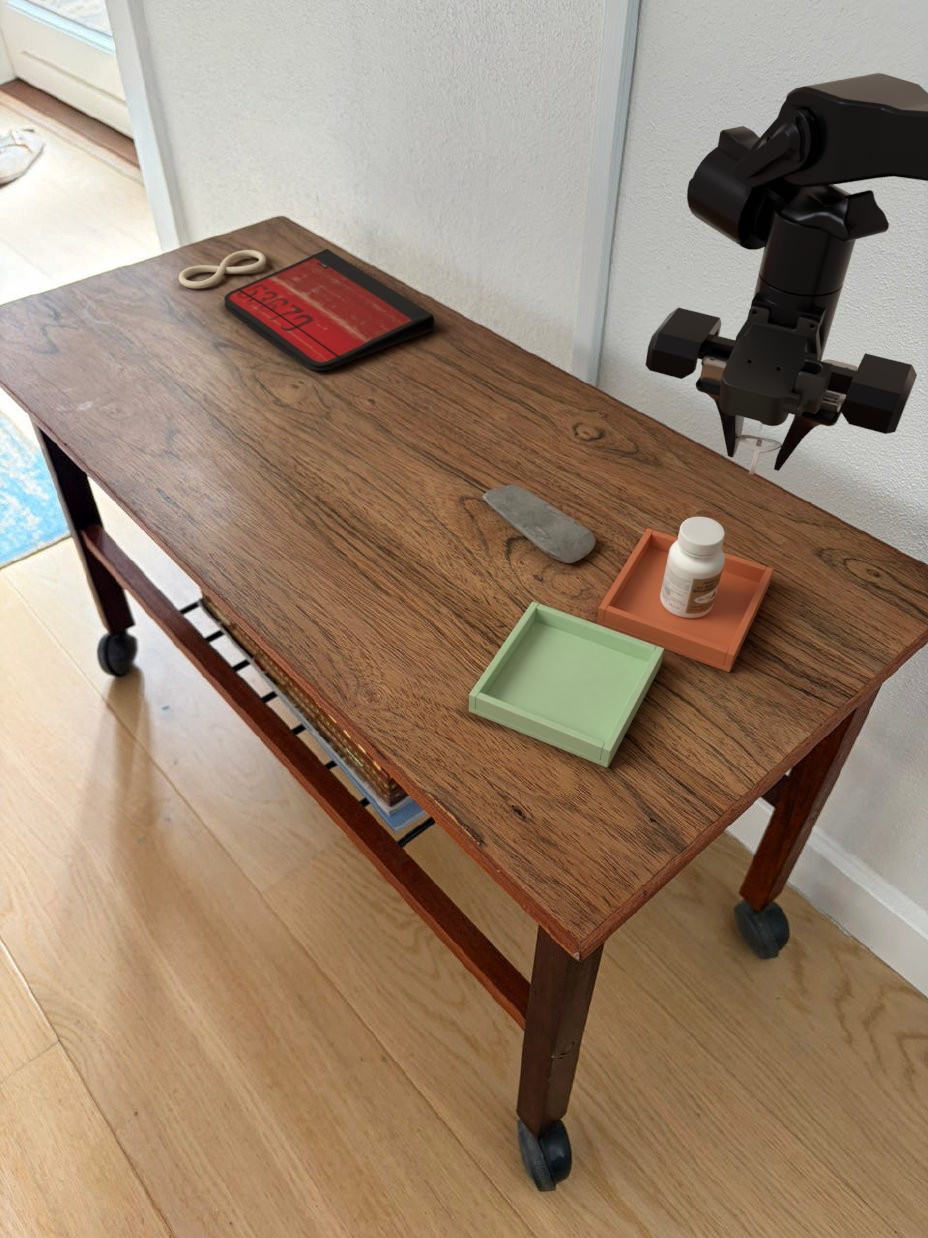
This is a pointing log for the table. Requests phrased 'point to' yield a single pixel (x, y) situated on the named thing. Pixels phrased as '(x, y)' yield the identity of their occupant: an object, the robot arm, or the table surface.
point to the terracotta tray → (701, 638)
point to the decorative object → (222, 269)
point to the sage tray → (567, 682)
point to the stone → (542, 523)
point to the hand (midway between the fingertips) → (754, 461)
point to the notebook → (327, 312)
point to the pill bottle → (694, 568)
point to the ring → (757, 448)
